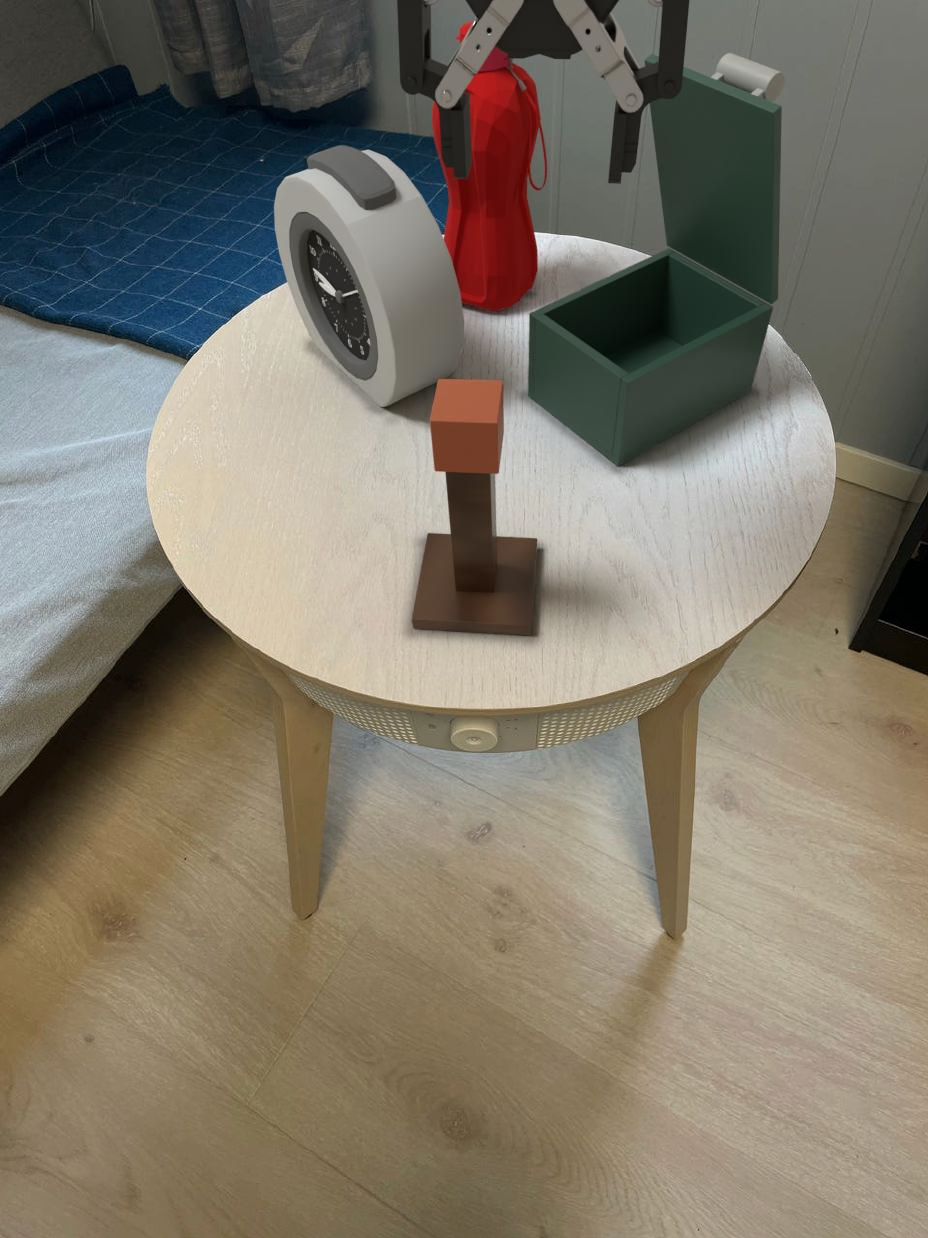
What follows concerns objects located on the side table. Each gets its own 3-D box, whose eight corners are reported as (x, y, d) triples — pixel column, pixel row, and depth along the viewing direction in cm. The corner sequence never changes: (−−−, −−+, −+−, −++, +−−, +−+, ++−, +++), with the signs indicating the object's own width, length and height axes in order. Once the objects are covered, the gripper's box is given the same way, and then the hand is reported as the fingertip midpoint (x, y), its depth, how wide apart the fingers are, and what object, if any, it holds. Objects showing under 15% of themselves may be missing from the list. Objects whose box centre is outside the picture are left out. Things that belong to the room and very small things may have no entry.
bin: (617, 466, 75) (628, 383, 68) (527, 395, 82) (529, 312, 75) (751, 391, 81) (773, 306, 74) (656, 330, 87) (669, 247, 80)
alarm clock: (295, 327, 91) (249, 129, 75) (355, 301, 93) (323, 104, 77) (404, 429, 80) (377, 221, 64) (469, 397, 82) (458, 189, 66)
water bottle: (522, 326, 89) (525, 54, 69) (432, 300, 93) (410, 35, 73) (561, 282, 94) (573, 15, 74) (474, 259, 97) (464, 0, 77)
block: (503, 431, 57) (503, 379, 54) (498, 474, 55) (497, 422, 52) (442, 429, 58) (438, 377, 55) (434, 471, 55) (429, 420, 52)
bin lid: (773, 112, 58) (830, 65, 58) (643, 59, 65) (695, 16, 65) (771, 304, 73) (816, 266, 74) (666, 245, 80) (708, 210, 80)
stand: (537, 547, 70) (541, 410, 59) (530, 635, 64) (533, 502, 53) (428, 542, 71) (412, 405, 60) (412, 628, 65) (392, 496, 54)
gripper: (724, -252, 36) (668, 148, 49) (397, -242, 38) (425, 141, 51) (729, -216, 32) (665, 213, 45) (358, -207, 34) (400, 203, 46)
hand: (537, 174), depth 48 cm, fingers open, 8 cm apart
